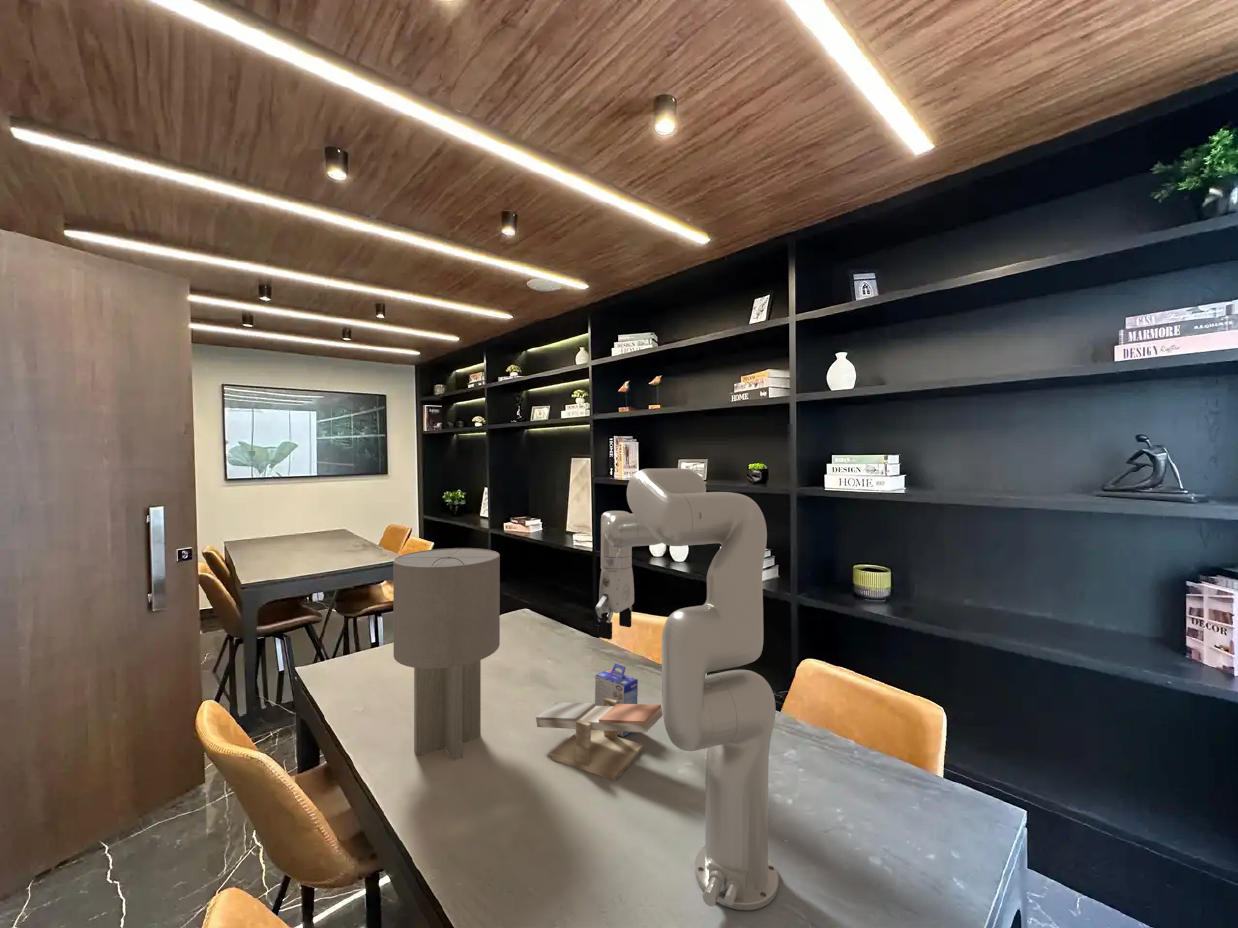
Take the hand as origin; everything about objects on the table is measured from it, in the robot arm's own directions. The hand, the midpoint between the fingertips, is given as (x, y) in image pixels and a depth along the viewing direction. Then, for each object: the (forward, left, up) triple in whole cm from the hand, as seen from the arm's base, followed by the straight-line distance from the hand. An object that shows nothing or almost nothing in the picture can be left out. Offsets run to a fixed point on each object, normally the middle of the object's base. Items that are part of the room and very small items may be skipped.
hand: (615, 632), depth 124 cm
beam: (-12, -2, -15) cm, 19 cm away
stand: (-12, -2, -23) cm, 26 cm away
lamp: (-25, +30, -23) cm, 45 cm away
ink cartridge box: (0, 0, -23) cm, 23 cm away
